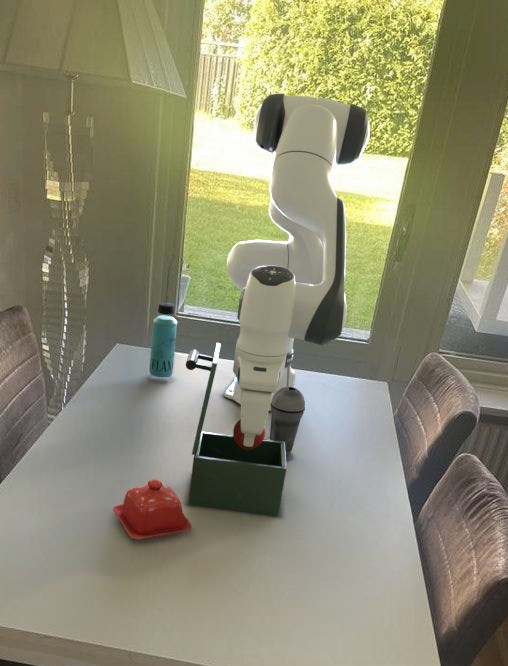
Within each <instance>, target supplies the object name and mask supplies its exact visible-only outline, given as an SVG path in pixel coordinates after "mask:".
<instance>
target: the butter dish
mask: <svg viewBox="0 0 508 666" xmlns="http://www.w3.org/2000/svg"><path fill="white" fill-rule="evenodd" d="M112 510H113V512H114V513H115V516H116V517H117V518H118V520H119V522H120V524H121V525H122V526H123V528H124V530H125V531H126V533H127V534H128V536H129V537H130V538H131V539H133V540H142V539H149V538H153V537H161V536H166V535H171V534H177V533H183V532H189V531H191V530H193V525H192V523H191V522H190V520H189V519H188V517H187V516H186V515H185V514H184V511H183V505H182V501H181V499H180V498H179V496H178V495H177V493H176V492H175V491H174V490H173V489H172V488H171V487H170V486H167V485H165V484H163V482H162V481H161V480H159V479H154V478H153V479H149V480H148V481H147V484H143V485H137V486H134V487H131V488H130V489H128V490H127V491H126V493H125V496H124V500H123V503H122V504H117V505H115V506H113V508H112Z"/></svg>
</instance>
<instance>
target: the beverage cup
mask: <svg viewBox="0 0 508 666" xmlns="http://www.w3.org/2000/svg"><path fill="white" fill-rule="evenodd" d="M289 374H290V366H288V367H287V385H286V387H284V388H281V389H280V390H278V391H277V392H276V393H275V395H274V396H273V398H272V402H271V404H270V405H271V411H270V414H271V415H270V427H269V428H270V429H269V440H273V441H281V442H285V453H286V461H287V460H289V459H290V457H291V454H292V452H293V448H294V445H295V441H296V437H297V433H298V430H299V426H300V424H301V423H300V422H301V419H302V418H303V415H304V412H305V410H306V401H305V397H304V394H303V393H302V392H301V391H300V390H299V389H298V388H297V387H295V386H294V387H289Z"/></svg>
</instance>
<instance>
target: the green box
mask: <svg viewBox="0 0 508 666" xmlns="http://www.w3.org/2000/svg"><path fill="white" fill-rule="evenodd" d="M191 468H192V470H191V479H190V488H189V496H188V505H190V506H198V507H205V508H206V507H207V508H214V509H220V510H228V511H235V512H244V513H250V514H259V515H266V516H273V517H274V516H275V517H279V513H280V507H281V503H282V496H283V491H284V485H285V481H286V474H287V460H286V453H285V442H281V441H273V440H270V439H265V438H264V439H263V441H262V443H261V444H260V445H259V446H257V447H256V448H254V449H252V450H249V451H244V450H243V449H242V448H240V447H239V446H238V444H237V443H236V442H235V440H234V437H233V434H225V433H216V432H208V431H202V432H201V436H200V441H199V445H198V449H197V453H196V455H193V459H192V467H191Z"/></svg>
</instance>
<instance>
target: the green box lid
mask: <svg viewBox="0 0 508 666" xmlns="http://www.w3.org/2000/svg"><path fill="white" fill-rule="evenodd" d="M221 347H222V343H221V342H216V343H215V348H214V353H213V356H210V355H205V354H201V353H200V352H199V351H198V350H197V349H191V350H190V351H189V352H188V355H187V357H186V362H185V368H186V369H187V370H189V371H193V370H195V369H199V370H204V371H208V372H209V375H208V380H207V383H206V388H205V391H204V392H205V393H204V396H203V402H202V406H201V411H200V415H199V418H198V422H197V427H196V432H195V436H194V442H193V446H192V452H191V455H193V456H194V455H196V453H197V449H198V445H199V441H200V436H201V432H203V427H204V423H205V418H206V415H207V409H208V405H209V401H210V398H211V397H210V396H211V393H212V388H213V383H214V380H215V375H216V371H217V367H218V362H219V357H220V353H221V352H220V351H221ZM198 360H203V361H207V362H211V365H209V364H205V363H204V364H203V363H199V362H198Z"/></svg>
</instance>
